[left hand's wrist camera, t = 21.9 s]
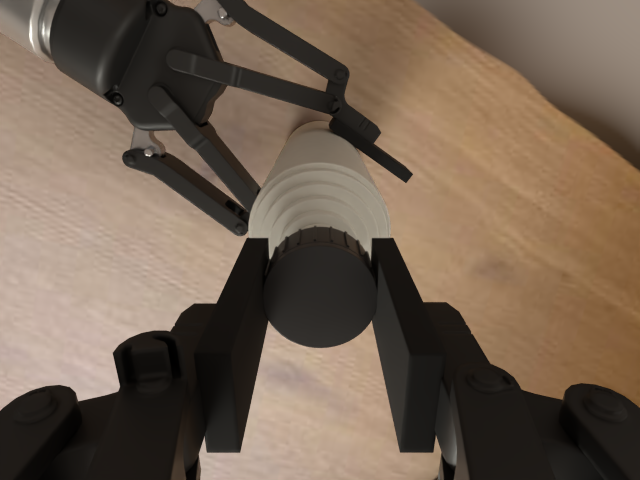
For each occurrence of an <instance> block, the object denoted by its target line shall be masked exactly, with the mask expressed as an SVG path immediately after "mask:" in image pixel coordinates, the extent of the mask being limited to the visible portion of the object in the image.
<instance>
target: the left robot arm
mask: <svg viewBox="0 0 640 480" xmlns="http://www.w3.org/2000/svg"><path fill="white" fill-rule="evenodd" d="M268 260H269V239H268V238H247V239H246V241H245V243H244V246H243V248H242V250H241V252H240V254H239V256H238V258H237V261H236V263H235V265H234V267H233V269H232V271H231V274H230V276H229V278H228V280H227V282H226V284H225V286H224V289H223V291H222V293H221V295H220V297H219V299H218V301H217V304H193V305H192V306H190V307H189V308H188V309H186V310H185V311H184V312H182V313H181V315H180V316H179V318H178V320H177V321H176V323H175V326H173V328H172V330H171V331H170V332H169V331H150V332H145V333H141V334H138V335H136V336H133V337H131V338H129V339H127V340H126V341H124V342H123V343H121V344H120V345H119V346H118V347H117V348H116V350H115V351H114V352H113V356H114V361H115V365H116V370H117V374H118V379H119V383H120V389H119V391H118V392H116V393H112V394H109V395H105V396H101V397H96V398H92V399H87V400H83V401H78V400H77V396H76V393H75V392H74V391H73V390H72V389H71V388H70V387H66V386H61V385H55V386H45V387H42V388H39V389H35V390H32V391H29V392H27V393H25V394H23V395H21V396H19V397H17V398H16V399H14V400H13V401H12V402H10V403H9V404H8V405H6V406H5V407H4V408H3V409H2V410H1V411H0V480H200V474H201V467H200V460H199V451H200V448H201V445H202V442H203V439H204V436H205V442H206V449H207V453H240V451H241V446H242V441H243V437H244V432H245V427H246V423H247V418H248V413H249V409H250V404H251V399H252V395H253V390H254V385H255V381H256V376H257V371H258V367H259V362H260V358H261V353H262V348H263V344H264V339H265V334H266V330H267V325H268V318H267V316H266V314H265V311H264V304H263V285H264V281H265V278H266V277H264V274H265V271H266V267H267V264H268ZM371 264H372V267H373V271H374V275H375V279H376V284H377V308H376V312H375V314H374V317H373V319H372V324H373V328H374V333H375V338H376V342H377V347H378V352H379V356H380V361H381V366H382V370H383V375H384V380H385V384H386V389H387V394H388V398H389V403H390V407H391V412H392V417H393V421H394V426H395V431H396V435H397V440H398V445H399V449H400V452H425V453H433V451H434V444H435V437H436V436H437V439H438V442H439V445H440V448H441V451H442V454H441V460H440V467H439V474H438V479H437V480H640V408H639V407H638V406H637V405H635V404H634V403H633V402H632V401H630V400H629V399H628V398H626V397H625V396H623V395H621V394H619V393H617V392H615V391H613V390H611V389H608V388H605V387H602V386H598V385H594V384H583V383H581V384H576V385H571V386H570V387H569V388H568V389H567V390H566V391H565V394H564V397H563V400H560V399H556V398H551V397H547V396H542V395H538V394H534V393H530V392H527V391H524V390H521V388H520V386H519V384H518V383H517V381H516V380H515V378H514V377H513V376H511V375H510V374H509V373H508V372H506V371H505V370H503V369H501V368H499V367H497V366H494V365H492V364H490V362H489V361H488V359H487V357H486V356H485V354H484V352H483V351H482V349H481V347H480V346H479V344H478V342H477V341H476V339H475V337H474V336H473V334H471V331H470V329H469V328H468V326H467V325H466V323H465V321H464V319H463V318H462V316H461V314H460V313H459V311H457V310H456V309H455V308H453V307H452V306H450V305H449V304H448V303H446V302H423V301H422V299H421V297H420V294H419V292H418V290H417V288H416V286H415V284H414V282H413V279H412V277H411V275H410V273H409V271H408V269H407V266H406V264H405V262H404V260H403V258H402V256H401V254H400V251H399V249H398V247H397V245H396V243H395V241H394V239H393V238H372V245H371Z"/></svg>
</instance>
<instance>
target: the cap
mask: <svg viewBox="0 0 640 480" xmlns="http://www.w3.org/2000/svg"><path fill="white" fill-rule="evenodd" d="M264 277H266V278H265V281H264V285H263V304H264V311H265V314H266V316H267V318H268V320H269V322H270V323H271V325H272V326H273V327H274V328H275V329H276V331H278V332H279V333H280V334H281V335H282V336H284V337H285V338H287V339H288V340H290V341H292V342H294V343H297V344H299V345H303V346H306V347H313V348H327V347H333V346H337V345H341V344H344V343H346V342H348V341H350V340H352V339H354V338H355V337H356V336H358V335H359V334H360V333H362V332H363V331H364V330H365V329H366V327H367V326H368V325H369V324H370V322H371V320H372V319H373V317H374V314H375V312H376V308H377V284H376V279H375V275H374V271H373V267H372V264H371V260H370V257H369V253H368V251H365V249H364V248H363V247H362V245H361V244H360V241H359V240H356V239H354V238H353V237H352V236H350V235H349V234H347V232H346V231H345V232H343V231H341V230H338V229H334V228H332V226H330V228H329V227H316V226H314V227H311V228H306V229H303V230H301V229H299V230H298V231H297V232H295V233H293V234H291V235H290V236H286V237H285V240H283V241H282V242H281V243H280V244H279V246H278V247H277V246H276V247H275V249H274V253H273V255H272V257H271V259H269V260H268V264H267V267H266V271H265V274H264Z"/></svg>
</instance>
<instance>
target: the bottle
mask: <svg viewBox="0 0 640 480" xmlns="http://www.w3.org/2000/svg"><path fill="white" fill-rule="evenodd" d="M329 123H330V122H326V121H313V122H309V123H306V124H304V125H302V126H300V127H299V128H297V129H296V130H295V131H294V132H293V133H292V134H291V135H290V137H289V138H288V140H287V142H286V144H285V146H284V147H283V149H282V151H281V153H280V155H279V157H278V159H277V160H276V162H275V164H274V166H273V168H272V170H271V172H270V174H269V175H268V177H267V179H266V181H265V183H264V185H263V187H262V188H261V190H260V192H259V194H258V196H257V198H256V200H255V202H254V204H253V207H252V210H251V212H250V217H249V227H248V232H249V238H268V239H269V259H271V257H272V255H273V253H274V249H275V247H276V246H277V247H278V246H279V244H280V243H281V242H282V241H283V240H285V237H286V236H290V235H291V234H293V233H295V232H297V231H298V230H299V229H301V230H303V229H306V228H311V227H314V226H316V227H329V228H330V226H332V228H334V229H338V230H341V231H343V232H345V231H346V232H347V234H349V235H350V236H352V237H353V238H354V239H356V240H359V241H360V244H361V245H362V247H363V248H364V249H365V251H368V253H369V257H370V260H371V245H372V238H390V231H391V225H390V217H389V213H388V209H387V207H386V204H385V202H384V200H383V198H382V196H381V194H380V192H379V190H378V188H377V186H376V185H375V183H374V181H373V179H372V177H371V175H370V173H369V171H368V170H367V168H366V166H365V164H364V162H363V160H362V158H361V156H360V155H359V153H358V151H357V149H356V147H355V146H353V145H352V144H350V143H349V142H348V141H346V140H345V139H343V138H342V137H341V136H339V135H338V134H336V133H335V132H334V131H332V130H331V129H329Z"/></svg>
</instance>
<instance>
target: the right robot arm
mask: <svg viewBox="0 0 640 480" xmlns="http://www.w3.org/2000/svg"><path fill="white" fill-rule="evenodd" d="M214 21H217V22H219V23H221V24H222V25H224V26H227V27H231V26H233V25H234V24H235V23H236V22H237V23H238V24H239V25H241V26H242V27H244V28H245V29H246V30H248V31H249V32H251V33H252V34H254V35H256V36H257V37H259V38H261V39H262V40H264V41H266V42H267V43H269V44H271V45H272V46H274V47H275V48H277V49H279V50H280V51H282V52H284V53H285V54H287V55H289V56H290V57H292V58H294V59H295V60H297V61H299V62H300V63H302V64H303V65H305V66H307V67H308V68H310V69H312V70H313V71H315V72H317V73H318V74H320V75H322V76H323V77H325V78H327V79H328V84H327V88H326V92H324V91H320V90H317V89H314V88H310V87H307V86H304V85H300V84H297V83H293V82H290V81H287V80H283V79H280V78H277V77H273V76H270V75H267V74H263V73H260V72H256V71H253V70H250V69H247V68H244V67H240V66H237V65H234V64H230V63H227V62H224V61H223V59H222V56H221V54H220V51H219V49H218V46H217V44H216V41H215V39H214V36H213V34H212V31H211V29H210V26H209V24H210V23H211V22H214ZM0 32H1V33H2V34H4V35H5V36H7V37H8V38H10V39H11V40H13V41H15V42H16V43H18V44H19V45H21V46H22V47H24V48H25V49H27V50H28V51H30V52H31V53H33V54H35V55H36V56H38V57H39V58H41V59H42V60H44V61H45V62H49V63H55V65H56V66H57V68H58V69H59V70H60V71H61V72H63V73H64V74H66V75H67V76H69V77H71V78H72V79H74V80H75V81H77V82H78V83H80V84H82V85H83V86H85V87H86V88H88V89H89V90H91V91H92V92H94V93H96V94H97V95H99V96H100V97H102V98H103V99H105V100H106V101H108V102H110V103H112V104H113V105H115V106H117V107H118V108H119V109H120V110H121V111H122V112H123V113H124V114H125V115H126V117H127V118H128V120H129V121H130V123H131V124H132V125H133V126H134V132H133V138H132V143H131V149H130V150H128V151H126V152H124V153H123V156H122V160H123V162H124V164H125V165H126V166H128V167H130V168H133V169H136V170H139V171H142V172H145V173H148V174H151V175H154V176H155V177H157V178H158V179H159V180H161V181H162V182H163V183H165V184H166V185H168V186H169V187H170V188H172V189H173V190H174V191H176V192H177V193H179V194H180V195H181V196H183V197H184V198H185V199H187V200H188V201H190V202H191V203H192V204H194V205H195V206H196V207H198V208H199V209H201V210H202V211H203V212H205V213H206V214H207V215H209V216H210V217H212V218H213V219H214V220H216V221H217V222H218V223H220V224H221V225H223V226H224V227H225V228H227V229H228V230H230V231H231V232H232V233H234V234H235V235H237V236H243V235H245V234H246V233H247V231H248V227H249V217H250V212H251V210H252V207H253V204H254V202H255V200H256V198H257V196H258V194H259V192H260V190H261V188H260V186H259V185H258V184H257V183H256V182H255V180H254V179H253V178H252V177H251V175H250V174H249V173H248V172H247V170H246V169H245V168H244V167H243V166H242V164H241V163H240V162H239V161H238V159H237V158H236V157H235V156H234V155H233V153H232V152H231V151H230V150H229V148H228V147H227V146H226V145H225V144H224V142H223V141H222V140H221V139H220V137H219V136H218V135H217V133H216V130H215V129H214V127H213V126H212V125H211V124H210V122H209V121H208V119H209V117H210V115H211V113H212V110H213V106H214V102H215V100H216V99H217V98H218V97H219V96H220V95H221V94H223V92H224V90H225V89H226V87H227V85H229V86H233V87H238V88H241V89H245V90H248V91H251V92H255V93H258V94H262V95H265V96H269V97H272V98H275V99H279V100H282V101H286V102H289V103H292V104H296V105H299V106H303V107H306V108H310V109H313V110H316V111H320V112H323V113H327V114H330V115H331V116H332V117H333V118H332V120H331V121H330V123H329V129H331V130H332V131H334V132H335V133H336V134H338V135H339V136H341V137H342V138H343V139H345V140H346V141H348V142H349V143H350V144H352V145H353V146H355V147H356V148H358V149H359V150H360V151H362V152H363V153H365V154H366V155H367V156H369V157H370V158H372V159H373V160H374V161H376V162H377V163H379V164H380V165H381V166H383V167H384V168H386V169H387V170H388V171H390V172H391V173H393V174H394V175H395V176H397V177H398V178H400V179H401V180H403V181H404V182H405V183H407V181H408V180H409V179H410V177H411V176H412V175H413V174H412V173H411V172H410V171H409V170H408V169H407V168H406V167H405V166H404V165H403V164H401V163H400V162H398V161H397V160H396V159H394V158H393V157H391V156H390V155H389V154H387V153H386V152H385V151H383V150H382V149H380V148H379V147H378V146H376V145H375V144H374V142H375V141H376V139H377V138H378V137H379V135H380V134H381V132H380V130H379V128H378V127H377V126H376V125H375V124H374V123H373V122H371V121H370V120H368V119H367V118H366V117H364V116H363V115H362V114H360V113H359V112H358V111H356V110H355V109H354V108H352V107H351V106H349V105H348V104H347V102H346V101H345V97H344V94H345V89H346V85H347V81H348V79H349V70H348V68H347V67H346V66H345V65H343V64H341V63H340V62H338V61H337V60H335V59H333V58H332V57H330V56H329V55H327V54H325V53H324V52H322V51H320V50H319V49H317V48H316V47H314V46H312V45H311V44H309V43H308V42H306V41H304V40H303V39H301V38H300V37H298V36H296V35H295V34H293V33H291V32H290V31H288V30H287V29H285V28H283V27H282V26H280V25H279V24H277V23H275V22H274V21H272V20H270V19H269V18H267V17H266V16H264V15H262V14H261V13H259V12H258V11H256V10H254V9H253V8H251V7H249V6H248V5H247V3H246V2H245V1H244V0H202V1H201V2H200V3H199V4H198V5H197V6H196V7H195V8H194V9H192V8H189V7H180V6H176V5H174V4H173V3H171V2H170V1H168V0H0ZM161 130H176V131H177V132H178V134H179V135H180V136H181V137H182V138H183V139H184V141H185V142H186V143H187V144H188V145H189V146H190V147H191V148H193V149H195V150H196V151H197V152H198V153H199V155H200V156H201V157H202V158H203V159H204V160H205V162H206V163H207V164H208V165H209V166H210V167H211V169H212V170H213V171H214V172H215V173H216V175H217V176H218V177H219V178H220V179H221V180H222V182H223V183H224V184H225V185H226V186H227V188H228V189H229V190H230V191H231V192H232V193H233V195H234V196H235V197H236V198H237V199H238V200H239V202H240V203H241V204H242V205H243V206H244V208H243V207H242V206H241V205H239V204H238V203H237V202H235V201H234V200H233V199H231V198H230V197H229V196H227V195H226V194H225V193H223V192H222V191H221V190H219V189H218V188H217V187H215V186H214V185H213V184H211V183H210V182H209V181H207V180H206V179H205V178H203V177H202V176H201V175H199V174H198V173H197V172H195V171H194V170H193V169H191V168H190V167H189V166H187V165H186V164H185V163H183V162H182V161H181V160H179V159H178V158H176V157H175V156H173V155H171V154H169V153H167V152H165V146H164V145H163V144H162V143H161V142H160V141H158V140H157V139H156V138H155V136H154V131H161Z"/></svg>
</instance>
